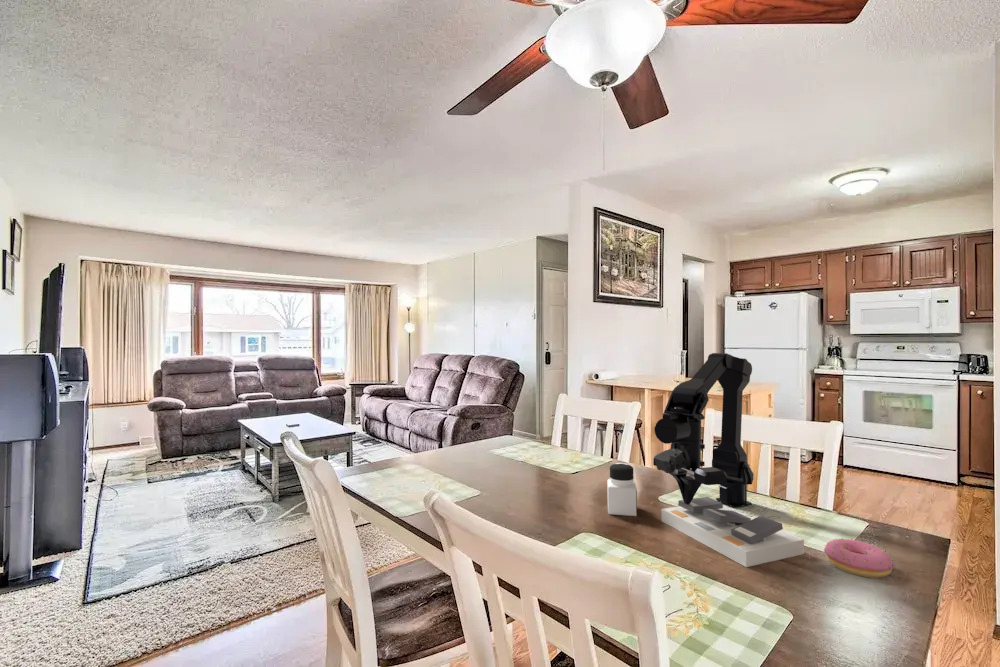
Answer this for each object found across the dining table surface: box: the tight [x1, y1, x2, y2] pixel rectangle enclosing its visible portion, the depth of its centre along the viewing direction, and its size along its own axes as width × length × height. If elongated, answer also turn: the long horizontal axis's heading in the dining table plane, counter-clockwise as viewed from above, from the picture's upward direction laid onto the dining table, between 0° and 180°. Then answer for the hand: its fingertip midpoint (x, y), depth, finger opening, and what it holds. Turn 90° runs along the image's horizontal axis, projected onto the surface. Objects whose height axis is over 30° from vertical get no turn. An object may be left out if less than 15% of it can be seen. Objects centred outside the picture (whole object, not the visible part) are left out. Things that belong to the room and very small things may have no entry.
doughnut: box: [823, 538, 895, 579], centre depth 93 cm, size 11×11×4 cm
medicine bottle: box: [606, 462, 638, 517], centre depth 123 cm, size 7×7×12 cm
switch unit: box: [660, 505, 805, 568], centre depth 107 cm, size 16×25×4 cm, turn 20°
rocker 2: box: [731, 514, 784, 544], centre depth 100 cm, size 9×5×1 cm, turn 110°
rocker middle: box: [703, 508, 752, 523], centre depth 107 cm, size 9×5×1 cm, turn 110°
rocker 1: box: [677, 496, 724, 512], centre depth 115 cm, size 9×5×1 cm, turn 110°
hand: (687, 503), depth 113 cm, fingers closed, pressing on rocker 1
